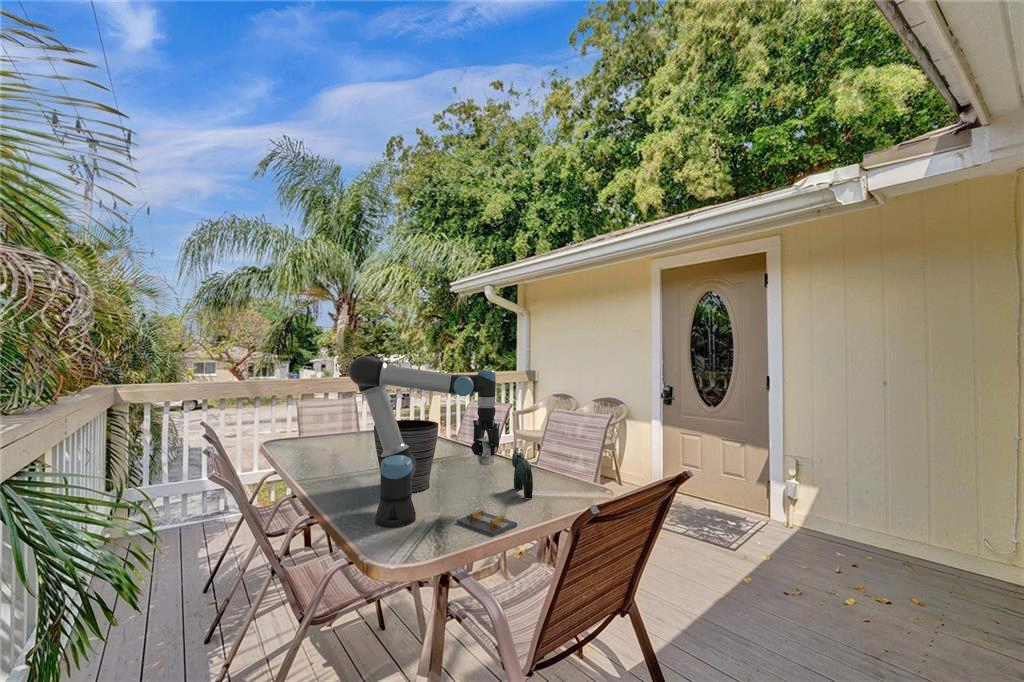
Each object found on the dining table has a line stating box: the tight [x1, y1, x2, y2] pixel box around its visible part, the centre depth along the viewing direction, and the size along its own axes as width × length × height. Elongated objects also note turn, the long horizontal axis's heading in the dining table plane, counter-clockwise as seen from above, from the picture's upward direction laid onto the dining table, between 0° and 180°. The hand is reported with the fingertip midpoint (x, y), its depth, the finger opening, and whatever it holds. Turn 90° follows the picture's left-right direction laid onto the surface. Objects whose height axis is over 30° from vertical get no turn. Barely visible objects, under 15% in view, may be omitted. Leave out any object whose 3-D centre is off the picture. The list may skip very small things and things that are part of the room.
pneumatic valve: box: [470, 435, 500, 467], centre depth 194 cm, size 6×12×12 cm, turn 134°
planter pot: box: [373, 419, 439, 494], centre depth 220 cm, size 30×30×30 cm
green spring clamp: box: [511, 448, 534, 499], centre depth 213 cm, size 20×6×20 cm, turn 16°
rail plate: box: [456, 509, 518, 537], centre depth 173 cm, size 13×19×4 cm
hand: (485, 462), depth 194 cm, fingers closed on pneumatic valve, 5 cm apart
